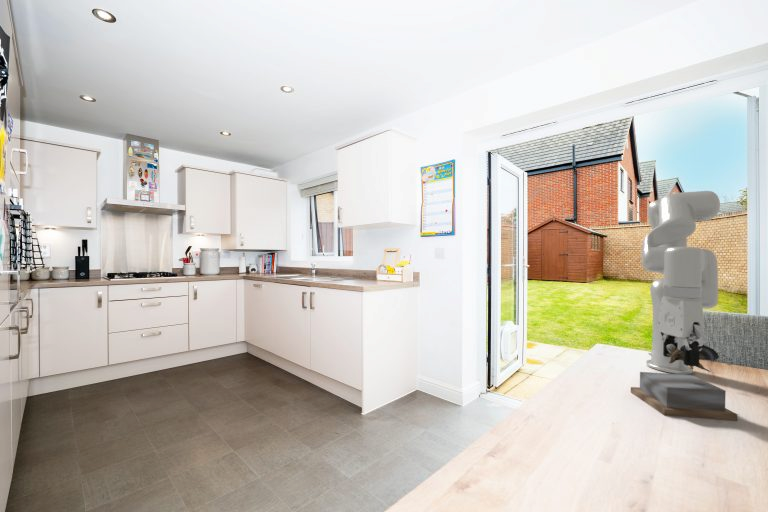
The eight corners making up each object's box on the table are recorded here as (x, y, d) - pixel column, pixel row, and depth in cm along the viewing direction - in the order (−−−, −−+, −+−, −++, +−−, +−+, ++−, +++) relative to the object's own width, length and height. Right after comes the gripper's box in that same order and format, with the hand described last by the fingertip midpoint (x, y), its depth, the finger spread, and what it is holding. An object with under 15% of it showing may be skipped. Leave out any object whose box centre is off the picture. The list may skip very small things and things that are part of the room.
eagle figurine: (684, 364, 84) (726, 365, 82) (672, 337, 88) (711, 337, 87) (668, 374, 90) (707, 375, 88) (657, 348, 94) (694, 349, 93)
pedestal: (630, 392, 97) (631, 369, 97) (692, 396, 95) (692, 373, 95) (664, 415, 83) (664, 389, 83) (737, 420, 81) (738, 393, 81)
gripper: (645, 289, 98) (644, 350, 98) (691, 297, 81) (689, 371, 81) (673, 290, 97) (672, 352, 97) (726, 298, 80) (724, 373, 80)
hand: (680, 360), depth 89 cm, fingers closed on eagle figurine, 6 cm apart
